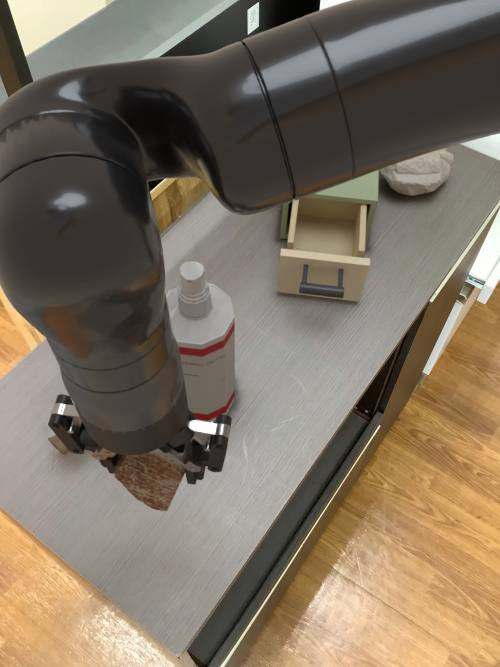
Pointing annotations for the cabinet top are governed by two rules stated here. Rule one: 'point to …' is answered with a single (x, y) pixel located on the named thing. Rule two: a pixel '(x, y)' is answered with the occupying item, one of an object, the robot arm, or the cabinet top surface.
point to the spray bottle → (204, 342)
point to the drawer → (325, 250)
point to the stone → (149, 479)
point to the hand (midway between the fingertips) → (155, 468)
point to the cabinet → (344, 199)
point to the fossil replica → (419, 173)
